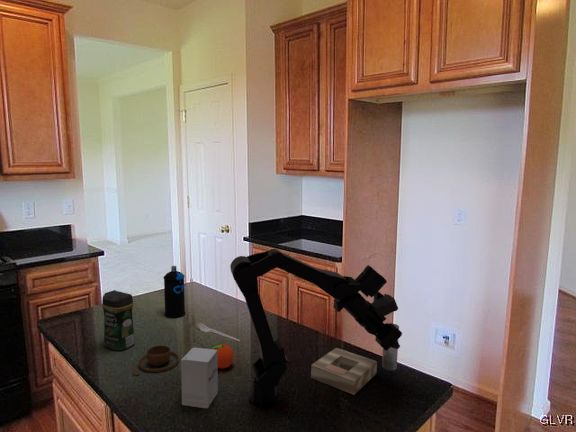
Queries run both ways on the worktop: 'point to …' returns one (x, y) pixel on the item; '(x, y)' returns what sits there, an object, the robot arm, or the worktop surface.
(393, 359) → the peg
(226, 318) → the worktop surface
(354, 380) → the hole block
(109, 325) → the coffee jar
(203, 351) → the supplement box
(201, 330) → the white plastic spoon
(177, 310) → the aerosol can
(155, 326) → the worktop surface
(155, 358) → the place setting
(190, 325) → the worktop surface
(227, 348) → the clementine
